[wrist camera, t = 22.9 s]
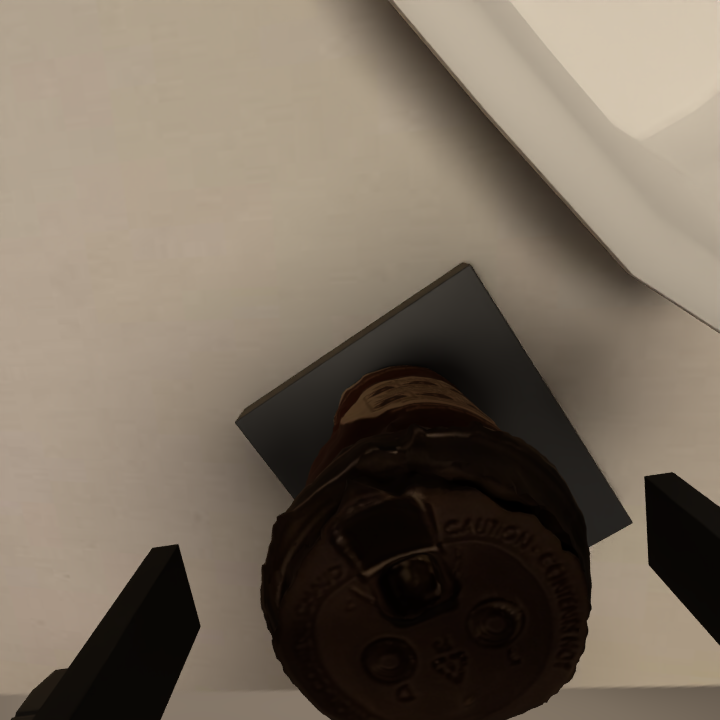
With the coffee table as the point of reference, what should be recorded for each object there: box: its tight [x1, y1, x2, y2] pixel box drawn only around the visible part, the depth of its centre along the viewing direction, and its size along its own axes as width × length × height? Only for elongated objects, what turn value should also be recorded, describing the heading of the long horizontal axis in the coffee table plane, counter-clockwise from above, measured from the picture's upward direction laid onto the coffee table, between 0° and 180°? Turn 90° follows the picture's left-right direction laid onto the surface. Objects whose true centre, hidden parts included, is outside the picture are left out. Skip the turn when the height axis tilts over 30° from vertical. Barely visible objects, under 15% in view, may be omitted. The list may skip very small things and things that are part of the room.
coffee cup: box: [260, 365, 592, 720], centre depth 18 cm, size 9×8×13 cm
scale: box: [235, 263, 632, 547], centre depth 25 cm, size 15×13×4 cm
